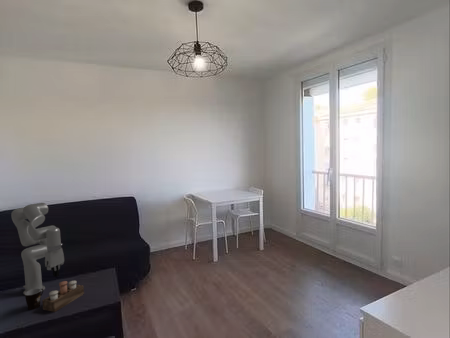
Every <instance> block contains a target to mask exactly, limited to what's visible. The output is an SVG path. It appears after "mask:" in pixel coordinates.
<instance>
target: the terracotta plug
mask: <svg viewBox="0 0 450 338" xmlns="http://www.w3.org/2000/svg"><path fill="white" fill-rule="evenodd" d="M58 285H59V291H60V294H61V295H64V294H66V293H67V286H68V281H67V280H63V281H60V282H58Z"/></svg>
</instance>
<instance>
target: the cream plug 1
mask: <svg viewBox="0 0 450 338" xmlns="http://www.w3.org/2000/svg"><path fill="white" fill-rule="evenodd" d="M58 291H59V290H52V291H50V292H49V293H48V296H50V300H53V301H54V300H56V299H57V298H58Z"/></svg>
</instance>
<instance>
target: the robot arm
mask: <svg viewBox="0 0 450 338" xmlns="http://www.w3.org/2000/svg"><path fill="white" fill-rule="evenodd" d="M48 213H49V206H48V205H47V203H45V202H39V203H32V204H27V205H25V206H23V207H20V208H16V209H14V210H12V211H11V214H10V215H11V220H12V222H13V224H14V226H15V228H16V229H17V232H18V237H19V240H20V243H21V245H22V246H23V247H27V248H25V249H23V250H22V251H21V254H20V255H21V256H20V257H21V259H22V265H23V271H24V281H25V282H24V284H25V285H23V286H22V287H23V288H24V291H23V295H24V296H25V293H26V292H27V291H29V290H32V289H37V288H39V289H43V291H45V290H46V287H45V285H43V281H42V279H43V277H42V270H41V269H42V268H41V264H40V263H39V262H38V260H40V259H43V258H45V259H44V264H45V265H44V266H45V267H46V270H47V271H52V275H53V277H55V278H58V277H60V269H61V267H62V265H64V263H65V255H64V250H63V247H62V246H63V243H62V242H61V241H62V239H61V238H62V237H61V230H60V228H59V227H57V226H55V225H48V226H44V227H39V226H41V225H42V224H43V223H44V222H45V220H46V216H45V215H47V214H48ZM37 227H38V228H37ZM36 244H37V245H36ZM32 245H33V246H32ZM41 293H42V290H41Z"/></svg>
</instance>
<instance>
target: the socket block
mask: <svg viewBox="0 0 450 338" xmlns="http://www.w3.org/2000/svg"><path fill="white" fill-rule="evenodd" d="M84 290H85V289H84V285H82V284H81V285H80V284H76V288H75V289H73V290H71V289H70V288H69V285H67V293H66V294H64V295H61V294H60V290H57V291H58V298H57V299H56V300H54V301H53V300H50V295H48V297H46V298H44V299H42V300H41V301H42V309H43V310H44V311H49V312H53V313H56V312H57V311H59V310H61V309H62V308H64V307H66V306H68V305H69V304H71V303H72V302H73V301H75V300H77V299H78V298H81V297H82V296H84V295H85V291H84ZM83 294H84V295H83ZM43 310H42V311H43Z"/></svg>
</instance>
